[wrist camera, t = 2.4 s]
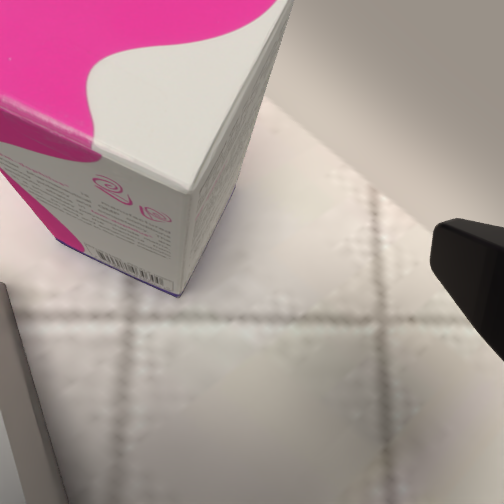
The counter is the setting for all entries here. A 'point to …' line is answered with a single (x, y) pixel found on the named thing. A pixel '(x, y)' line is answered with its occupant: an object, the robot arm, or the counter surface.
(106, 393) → the counter surface
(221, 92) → the supplement box
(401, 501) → the counter surface
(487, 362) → the counter surface
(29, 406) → the bin
